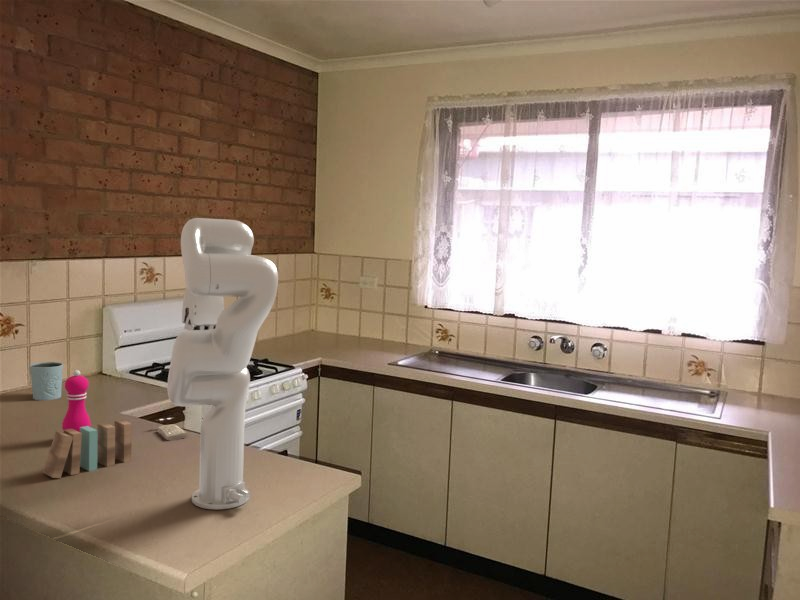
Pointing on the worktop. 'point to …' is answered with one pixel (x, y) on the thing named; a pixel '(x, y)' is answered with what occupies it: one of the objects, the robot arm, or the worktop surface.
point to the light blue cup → (46, 380)
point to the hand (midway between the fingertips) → (203, 351)
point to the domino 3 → (88, 448)
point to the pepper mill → (76, 403)
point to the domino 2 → (73, 453)
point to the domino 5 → (123, 440)
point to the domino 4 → (106, 444)
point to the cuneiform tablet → (171, 431)
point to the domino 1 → (58, 454)
